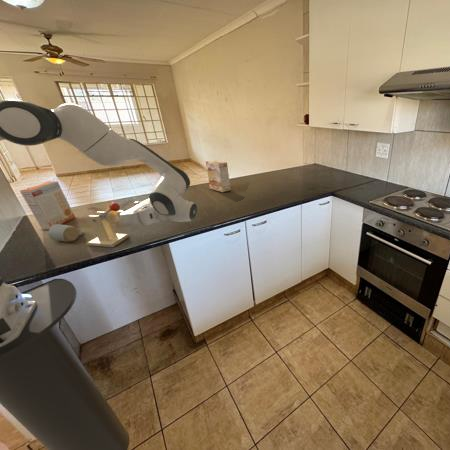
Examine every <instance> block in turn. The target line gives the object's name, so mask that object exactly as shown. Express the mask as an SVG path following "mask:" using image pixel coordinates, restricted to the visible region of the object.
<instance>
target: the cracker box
mask: <svg viewBox="0 0 450 450" xmlns="http://www.w3.org/2000/svg"><path fill="white" fill-rule="evenodd" d="M19 192H20V195H21V196H22V197H23V199H24V201H25V203H26V204H27V206H28V208H29V210H30V211H31V213H32V215H33V216H34V218H35V220H36V222H37V223H38V225H39V226H40V228H41V230H49V229H50V228H51V227H52V226H53V225H56V224H62V225H65V224H66V223H68V222H71V221H72V220H74V219H76V215H75V214H74V212H73V210H72V207H71V206H70V205H71V204H70V203H69V201H68V200H67V197H66V196H65V193H64V191H63V190H62V187H61V185H60V183H59V182H58V181H56V180H55V181H49V180H48V181H44V182H42V183H38V184H35V185H33V186H29V187H27V188H24V189H23V188H22V189H20V190H19Z"/></svg>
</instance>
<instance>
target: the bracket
mask: <svg viewBox="0 0 450 450" xmlns="http://www.w3.org/2000/svg"><path fill="white" fill-rule="evenodd" d="M104 212H105V211H99V210H98V211H96V215H94V214H90V215H88V219H89V222H90V223H91V225H92V227H93V230H94V232H95V234H96V237H94V238H93V239H91V240H90V241H88V242H87V244H88V246H92V247H105V248H106V247H107V248H114V247H116V246H117V245H119V244H120V243H122V242H124V241H125V240H126V239H128V238H129V234H127V233H116V229H115V227H114V225H113V223H112V220H111V218H110V215H109V213H108V214H106V215H105V218H104V219H102V220H101V218H100V216H97V215H98V214H100V213H102V214H103V213H104Z"/></svg>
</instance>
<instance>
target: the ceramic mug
mask: <svg viewBox="0 0 450 450" xmlns="http://www.w3.org/2000/svg"><path fill="white" fill-rule="evenodd" d="M47 231H48V232H47V234H48V237H49V239H51V240H52V241H54V242H66V243H70V242H71V243H72V242H74V241H76V240H77V239H78V238H79V236H81V235H84V231H83V230H79V229H78V228H77V227H76V226H72V225H67V224H56V225H53V226H52V227H51V228H50V229H48V230H47Z"/></svg>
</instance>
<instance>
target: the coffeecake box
mask: <svg viewBox="0 0 450 450" xmlns="http://www.w3.org/2000/svg"><path fill="white" fill-rule="evenodd" d="M205 166H206V172H207V178H208V185H209V190H213V191H216V192H221V193H225V192H229V191H231V183H230V182H231V181H230V174H229V166H228V162H227V161H222V160H216V159H211V160H206V161H205Z"/></svg>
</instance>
